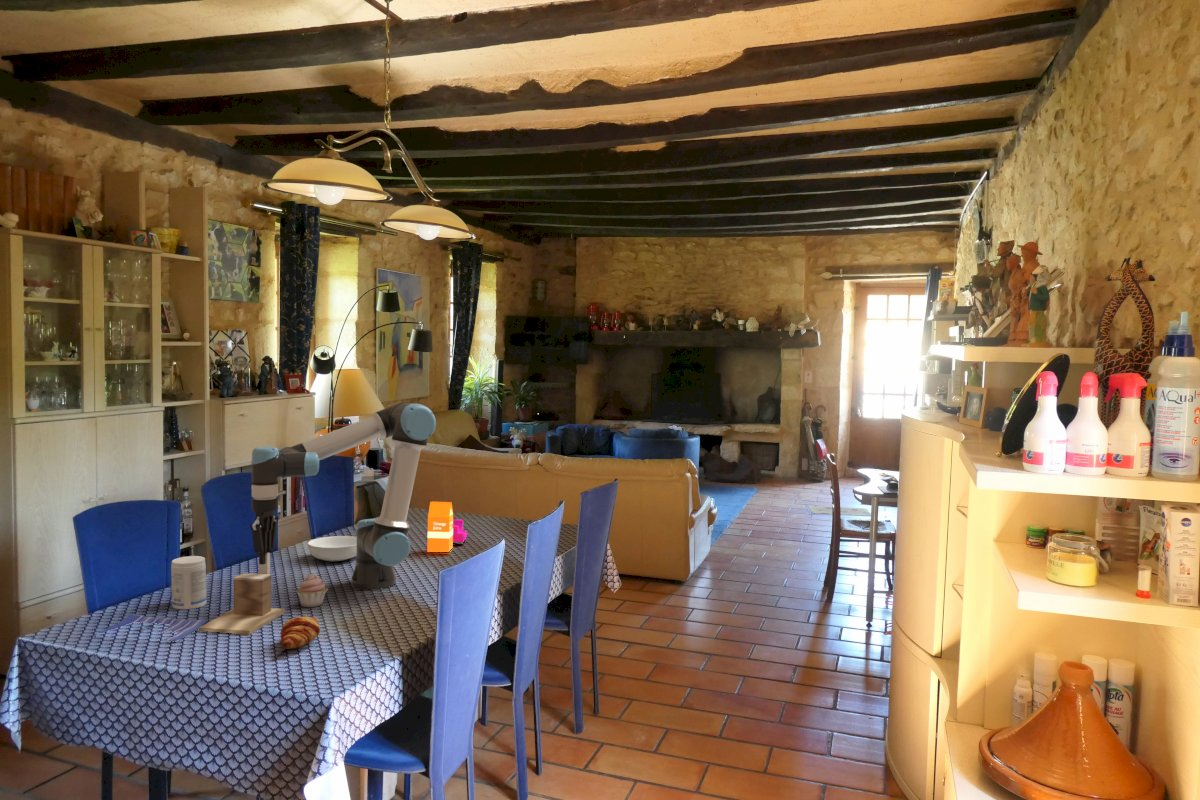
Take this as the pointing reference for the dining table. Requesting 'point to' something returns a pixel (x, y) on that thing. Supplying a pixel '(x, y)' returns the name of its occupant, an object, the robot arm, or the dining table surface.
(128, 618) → the dish towel
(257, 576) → the wooden block
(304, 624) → the croissant
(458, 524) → the toy block
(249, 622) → the board
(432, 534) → the orange juice
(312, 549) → the serving bowl
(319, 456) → the robot arm
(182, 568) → the supplement tub
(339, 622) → the dining table surface
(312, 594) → the cupcake
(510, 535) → the dining table surface
